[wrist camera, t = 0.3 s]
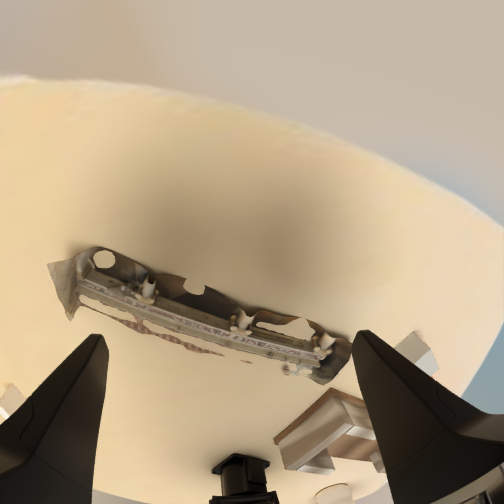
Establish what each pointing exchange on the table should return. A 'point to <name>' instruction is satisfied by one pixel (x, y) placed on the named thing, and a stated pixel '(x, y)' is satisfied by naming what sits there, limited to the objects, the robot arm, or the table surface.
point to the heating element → (192, 314)
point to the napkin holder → (11, 401)
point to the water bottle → (335, 495)
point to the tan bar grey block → (418, 353)
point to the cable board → (330, 435)
